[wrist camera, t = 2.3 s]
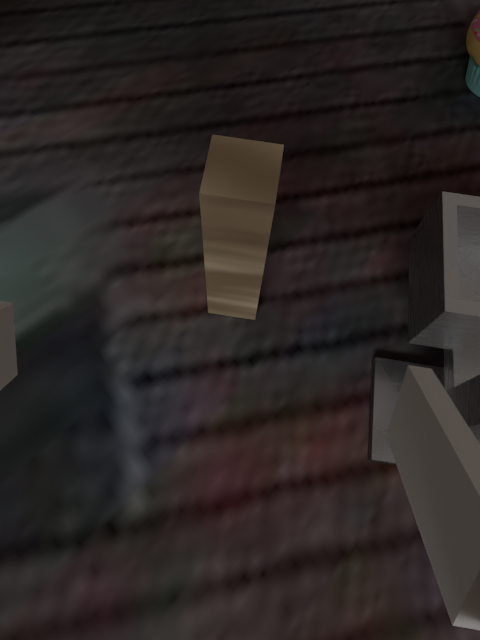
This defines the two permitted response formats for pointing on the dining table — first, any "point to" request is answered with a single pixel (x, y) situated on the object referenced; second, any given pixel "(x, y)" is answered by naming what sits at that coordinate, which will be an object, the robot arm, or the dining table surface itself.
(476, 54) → the cupcake
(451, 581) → the robot arm
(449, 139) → the dining table surface
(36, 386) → the dining table surface
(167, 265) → the dining table surface
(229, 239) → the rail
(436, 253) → the bracket
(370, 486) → the dining table surface
